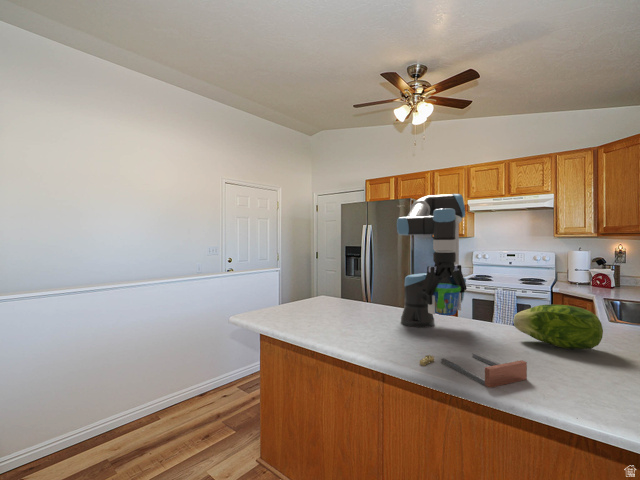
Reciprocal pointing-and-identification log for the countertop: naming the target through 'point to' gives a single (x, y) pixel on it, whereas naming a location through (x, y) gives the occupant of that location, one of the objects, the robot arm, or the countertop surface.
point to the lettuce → (561, 326)
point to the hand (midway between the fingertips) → (444, 311)
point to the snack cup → (446, 299)
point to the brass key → (427, 360)
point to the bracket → (495, 371)
